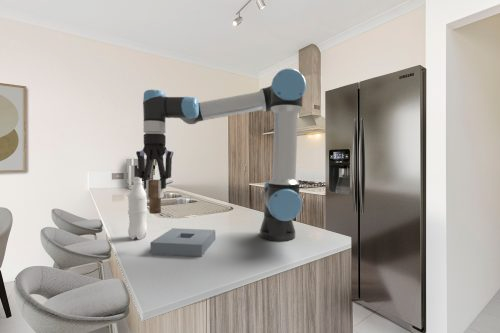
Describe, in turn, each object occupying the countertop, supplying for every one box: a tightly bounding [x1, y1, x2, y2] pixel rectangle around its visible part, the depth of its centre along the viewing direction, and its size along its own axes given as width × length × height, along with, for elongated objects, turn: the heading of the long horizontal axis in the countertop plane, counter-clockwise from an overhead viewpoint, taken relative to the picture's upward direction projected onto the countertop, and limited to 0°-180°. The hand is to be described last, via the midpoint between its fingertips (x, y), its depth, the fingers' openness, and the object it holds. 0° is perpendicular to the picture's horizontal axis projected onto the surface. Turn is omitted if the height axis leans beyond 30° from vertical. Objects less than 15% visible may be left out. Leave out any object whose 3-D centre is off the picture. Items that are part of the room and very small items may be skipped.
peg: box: [148, 179, 162, 215], centre depth 93 cm, size 4×4×12 cm
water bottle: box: [127, 176, 148, 241], centre depth 103 cm, size 7×7×25 cm
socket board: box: [150, 227, 216, 258], centre depth 94 cm, size 18×18×4 cm
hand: (155, 197), depth 93 cm, fingers closed on peg, 4 cm apart
